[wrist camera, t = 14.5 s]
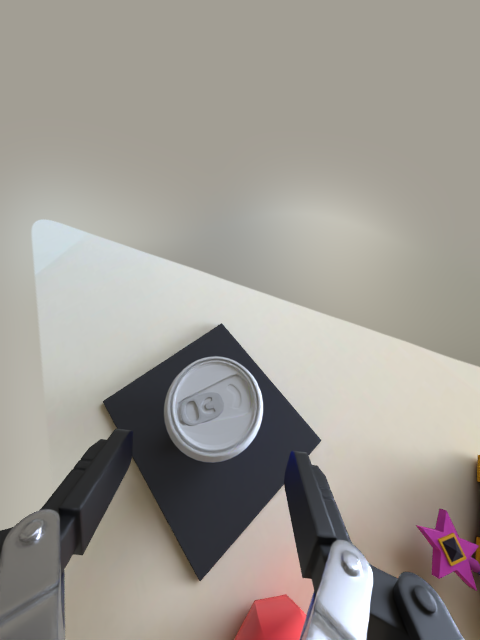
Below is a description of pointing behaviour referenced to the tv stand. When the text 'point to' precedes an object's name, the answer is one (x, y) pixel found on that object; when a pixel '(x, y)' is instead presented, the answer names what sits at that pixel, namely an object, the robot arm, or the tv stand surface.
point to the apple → (272, 620)
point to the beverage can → (213, 409)
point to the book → (452, 548)
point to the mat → (206, 477)
